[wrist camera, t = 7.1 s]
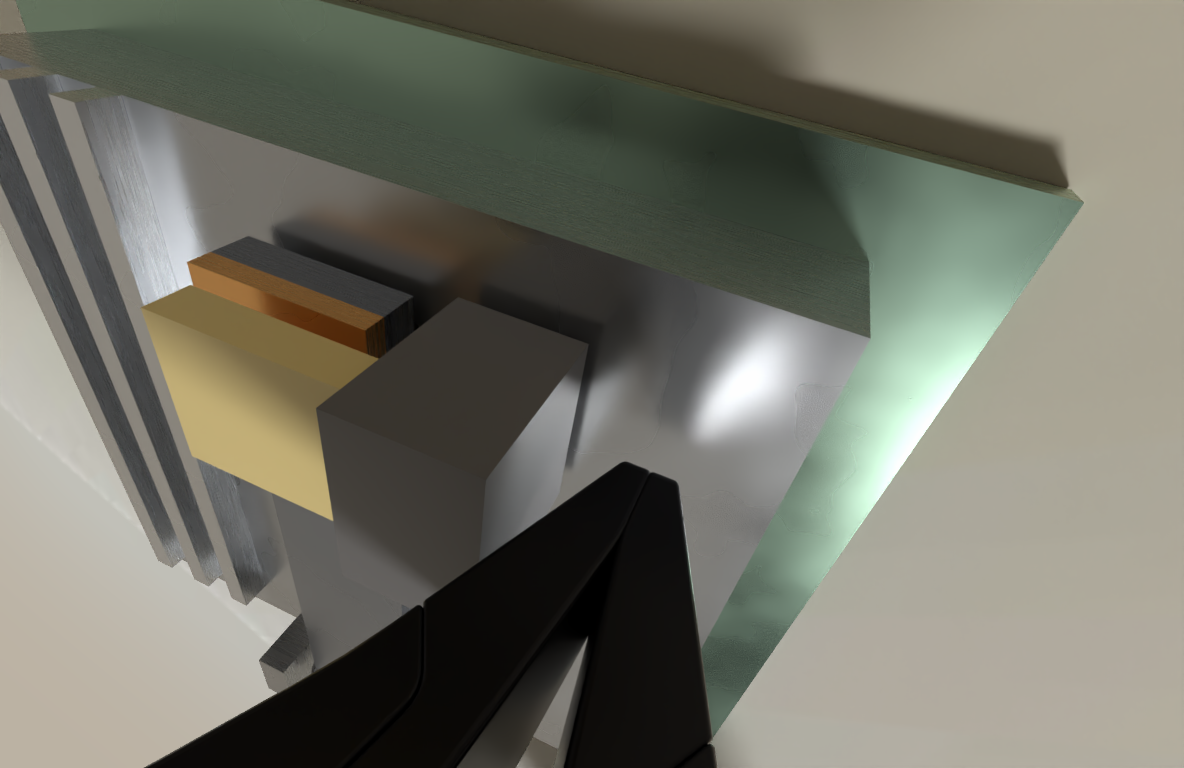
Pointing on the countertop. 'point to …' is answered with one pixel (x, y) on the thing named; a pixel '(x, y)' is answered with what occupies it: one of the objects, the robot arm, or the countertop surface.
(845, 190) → the heatsink
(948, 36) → the countertop surface
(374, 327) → the grey and orange bar
